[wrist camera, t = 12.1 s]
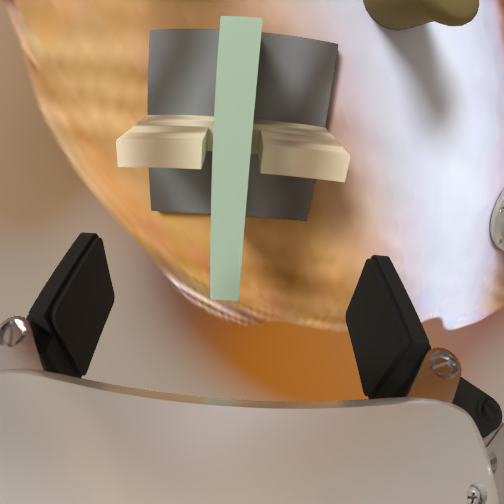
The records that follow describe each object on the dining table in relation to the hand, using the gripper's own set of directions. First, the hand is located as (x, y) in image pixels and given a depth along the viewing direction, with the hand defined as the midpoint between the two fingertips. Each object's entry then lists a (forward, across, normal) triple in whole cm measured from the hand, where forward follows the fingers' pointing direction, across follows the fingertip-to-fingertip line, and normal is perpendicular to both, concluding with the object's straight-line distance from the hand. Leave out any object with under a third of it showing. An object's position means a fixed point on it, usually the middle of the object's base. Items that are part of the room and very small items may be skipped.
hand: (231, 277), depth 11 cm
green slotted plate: (+20, +1, 0) cm, 20 cm away
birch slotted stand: (+21, +1, 0) cm, 21 cm away
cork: (+22, -12, -15) cm, 29 cm away
